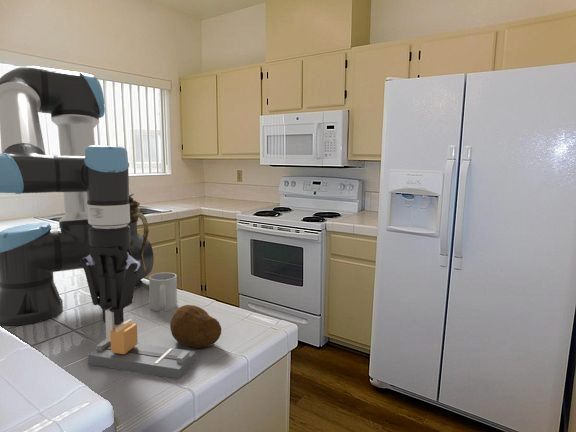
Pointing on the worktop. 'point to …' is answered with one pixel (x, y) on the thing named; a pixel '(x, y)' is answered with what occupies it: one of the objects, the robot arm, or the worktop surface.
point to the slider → (124, 337)
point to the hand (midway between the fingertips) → (113, 338)
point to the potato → (194, 327)
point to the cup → (163, 291)
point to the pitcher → (139, 242)
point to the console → (144, 359)
